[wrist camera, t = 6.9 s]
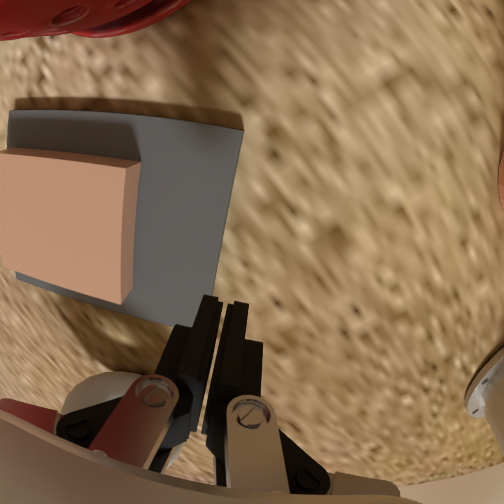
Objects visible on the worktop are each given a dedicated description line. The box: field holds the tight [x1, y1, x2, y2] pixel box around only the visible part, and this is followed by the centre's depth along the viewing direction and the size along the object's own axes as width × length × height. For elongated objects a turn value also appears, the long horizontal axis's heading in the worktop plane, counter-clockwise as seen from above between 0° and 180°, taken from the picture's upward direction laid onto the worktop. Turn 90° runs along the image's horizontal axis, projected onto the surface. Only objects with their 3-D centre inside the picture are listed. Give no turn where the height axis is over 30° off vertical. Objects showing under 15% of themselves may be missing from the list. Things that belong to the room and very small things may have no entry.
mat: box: [7, 109, 244, 327], centre depth 18 cm, size 16×13×1 cm
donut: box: [60, 371, 185, 467], centre depth 20 cm, size 10×4×10 cm, turn 80°
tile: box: [0, 147, 141, 305], centre depth 16 cm, size 2×8×10 cm
